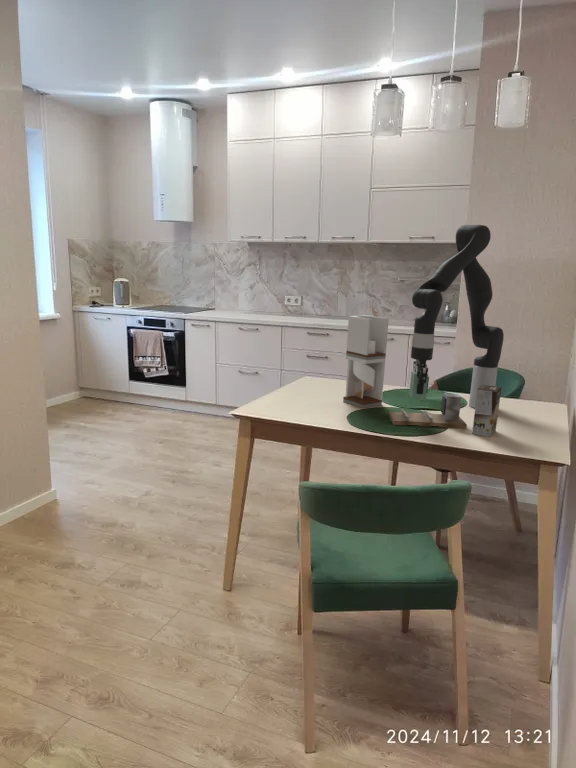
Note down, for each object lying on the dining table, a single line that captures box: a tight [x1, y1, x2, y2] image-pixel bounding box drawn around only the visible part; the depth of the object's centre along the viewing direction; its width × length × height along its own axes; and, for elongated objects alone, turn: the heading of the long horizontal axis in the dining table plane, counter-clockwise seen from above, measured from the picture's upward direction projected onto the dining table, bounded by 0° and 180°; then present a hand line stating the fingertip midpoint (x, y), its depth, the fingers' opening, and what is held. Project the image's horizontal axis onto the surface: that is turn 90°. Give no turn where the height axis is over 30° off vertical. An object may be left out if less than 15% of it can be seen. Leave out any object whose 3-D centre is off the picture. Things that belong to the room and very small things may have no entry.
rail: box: [387, 392, 468, 429], centre depth 203 cm, size 26×12×10 cm, turn 89°
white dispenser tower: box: [342, 315, 390, 409], centre depth 223 cm, size 11×11×35 cm
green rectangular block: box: [408, 370, 430, 400], centre depth 202 cm, size 6×5×9 cm
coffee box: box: [471, 385, 502, 438], centre depth 193 cm, size 9×6×16 cm
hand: (418, 391), depth 202 cm, fingers closed on green rectangular block, 5 cm apart
